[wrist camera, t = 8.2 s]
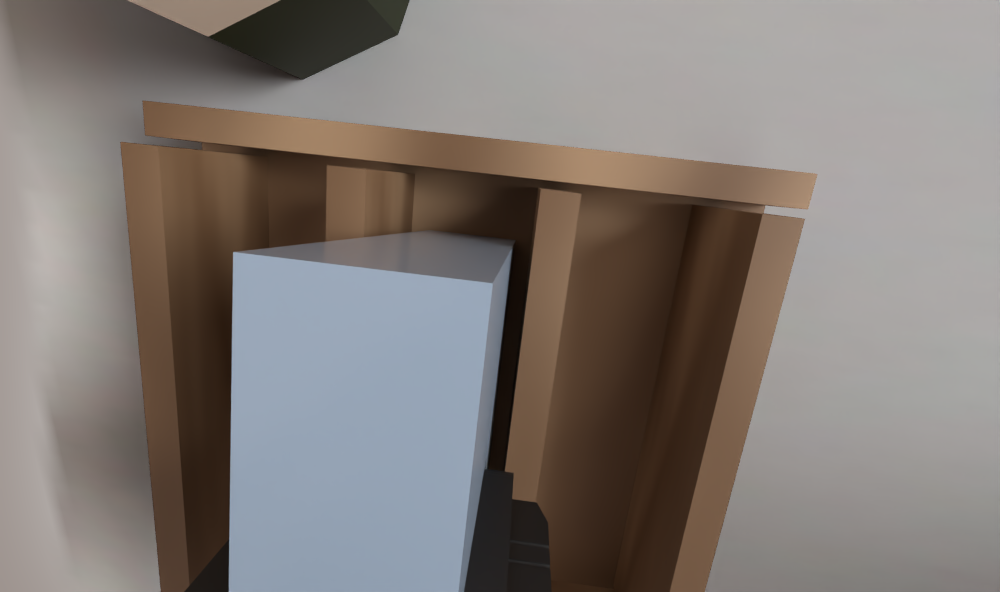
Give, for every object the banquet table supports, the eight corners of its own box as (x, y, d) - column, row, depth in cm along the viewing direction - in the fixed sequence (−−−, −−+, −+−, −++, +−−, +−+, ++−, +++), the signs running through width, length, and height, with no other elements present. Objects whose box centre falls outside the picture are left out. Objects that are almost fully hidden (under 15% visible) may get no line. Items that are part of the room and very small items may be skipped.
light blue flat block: (516, 240, 13) (492, 283, 4) (476, 576, 15) (403, 1089, 6) (429, 230, 13) (234, 252, 4) (400, 565, 15) (222, 1055, 6)
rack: (752, 175, 14) (882, 172, 9) (655, 586, 17) (706, 752, 12) (227, 118, 14) (60, 83, 9) (241, 526, 18) (128, 661, 13)
